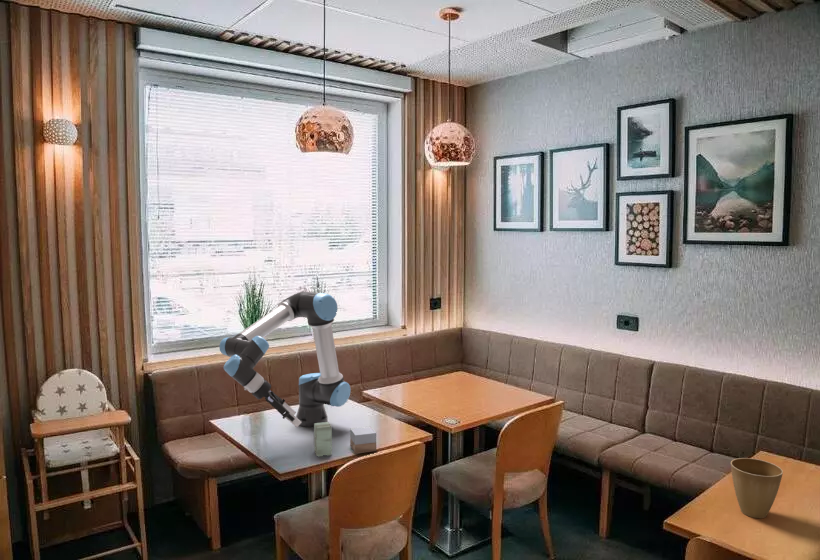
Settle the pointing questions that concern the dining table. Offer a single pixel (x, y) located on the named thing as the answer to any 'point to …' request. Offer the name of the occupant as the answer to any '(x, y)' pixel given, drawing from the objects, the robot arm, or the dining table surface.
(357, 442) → the slate block
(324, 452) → the sage block
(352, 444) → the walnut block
